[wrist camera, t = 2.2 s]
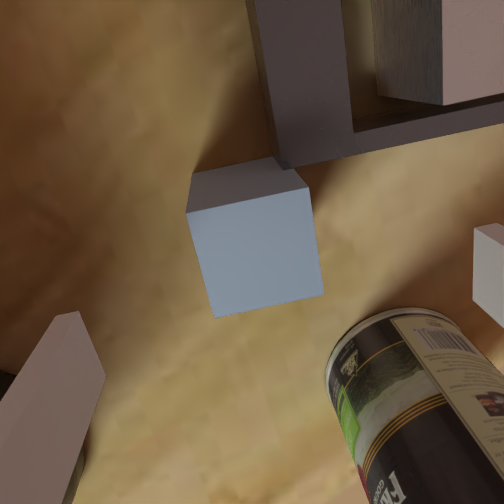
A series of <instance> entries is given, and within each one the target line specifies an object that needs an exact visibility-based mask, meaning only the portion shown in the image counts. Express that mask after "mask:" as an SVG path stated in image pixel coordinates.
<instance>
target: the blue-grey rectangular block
mask: <svg viewBox="0 0 504 504" xmlns="http://www.w3.org/2000/svg"><path fill="white" fill-rule="evenodd" d="M186 217H187V220H188V224H189V228H190V231H191V235H192V239H193V242H194V246H195V250H196V253H197V257H198V261H199V264H200V268H201V272H202V275H203V279H204V283H205V286H206V290H207V294H208V297H209V301H210V305H211V308H212V312H213V316H214V318H218V317H223V316H228V315H232V314H237V313H241V312H246V311H251V310H255V309H260V308H264V307H269V306H274V305H278V304H283V303H288V302H292V301H297V300H301V299H306V298H311V297H315V296H320V295H324V290H323V283H322V276H321V269H320V262H319V255H318V248H317V241H316V234H315V227H314V220H313V213H312V206H311V199H310V192H309V187H308V186H307V184H306V183H305V182H304V181H303V180H302V178H301V177H300V176H299V175H298V173H297V172H296V171H295V170H294V169H293V168H292V169H288V170H282V169H281V167H280V166H279V164H278V163H277V161H276V160H275V159H274V157H273V156H272V157H267V158H263V159H258V160H253V161H249V162H244V163H239V164H235V165H230V166H225V167H221V168H216V169H211V170H207V171H202V172H197V173H193V174H192V178H191V184H190V190H189V196H188V202H187V209H186Z"/></svg>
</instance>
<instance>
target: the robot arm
mask: <svg viewBox="0 0 504 504" xmlns="http://www.w3.org/2000/svg"><path fill="white" fill-rule="evenodd" d="M473 301H474V302H475V303H477V304H478V305H479V306H480V307H481V308H482V309H483V310H484V311H485V312H486V313H488V314H489V315H490V316H491V317H492V318H493V319H494V320H495V321H496V322H497V323H498V324H500V325H501V326H502V327H503V328H504V226H502V225H501V224H499V223H493V224H489V225H484V226H479V227H474V253H473ZM106 377H107V376H106V374H105V372H104V369H103V367H102V365H101V362H100V360H99V358H98V355H97V353H96V350H95V348H94V346H93V343H92V341H91V339H90V336H89V334H88V332H87V329H86V327H85V325H84V322H83V320H82V317H81V315H80V313H79V311H75V312H71V313H66V314H61V315H56V316H55V318H54V319H53V321H52V322H51V324H50V325H49V327H48V329H47V330H46V332H45V333H44V335H43V336H42V338H41V339H40V341H39V343H38V344H37V346H36V347H35V349H34V350H33V352H32V353H31V355H30V356H29V358H28V360H27V361H26V363H25V364H24V366H23V367H22V369H21V370H20V372H19V374H18V375H17V377H14V376H11V375H9V374H6V373H3V372H0V504H72V502H73V500H74V497H75V494H76V491H77V488H78V485H79V481H80V478H81V475H82V472H83V468H84V460H85V455H84V447H83V441H84V439H85V436H86V433H87V430H88V427H89V425H90V422H91V419H92V416H93V413H94V410H95V408H96V405H97V402H98V399H99V396H100V393H101V391H102V388H103V385H104V382H105V379H106Z"/></svg>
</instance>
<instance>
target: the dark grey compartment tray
mask: <svg viewBox="0 0 504 504" xmlns="http://www.w3.org/2000/svg"><path fill="white" fill-rule="evenodd" d="M246 5H247V11H248V17H249V23H250V28H251V34H252V40H253V46H254V51H255V57H256V63H257V68H258V74H259V80H260V86H261V91H262V97H263V103H264V108H265V114H266V120H267V126H268V131H269V137H270V143H271V148H272V154H273V157H274V159H275V160H276V161H277V163H278V164H279V166H280V167H281V169H282V170H288V169H292V168H297V167H301V166H306V165H311V164H315V163H320V162H325V161H329V160H334V159H339V158H343V157H348V156H352V155H357V154H362V153H366V152H371V151H376V150H380V149H385V148H389V147H394V146H399V145H403V144H408V143H413V142H417V141H422V140H427V139H431V138H436V137H440V136H445V135H450V134H454V133H459V132H464V131H468V130H473V129H477V128H482V127H487V126H491V125H496V124H501V123H504V93H499V94H495V95H490V96H485V97H481V98H476V99H472V100H467V101H462V102H458V103H453V104H448V105H444V106H443V105H436V104H425V105H420V106H416V107H411V108H407V109H402V110H397V111H393V112H388V113H383V114H379V115H374V116H369V117H365V118H360V119H356V120H352V113H351V102H350V92H349V81H348V71H347V60H346V50H345V39H344V29H343V18H342V8H341V0H246Z"/></svg>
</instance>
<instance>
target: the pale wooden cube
mask: <svg viewBox="0 0 504 504" xmlns="http://www.w3.org/2000/svg"><path fill="white" fill-rule="evenodd" d="M371 13H372V27H373V41H374V56H375V70H376V84H377V95H381V96H387V97H393V98H399V99H405V100H412V101H418V102H424V103H430V104H436V105H443V106H444V105H448V104H453V103H458V102H462V101H467V100H472V99H476V98H481V97H485V96H490V95H495V94H499V93H504V0H371Z"/></svg>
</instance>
